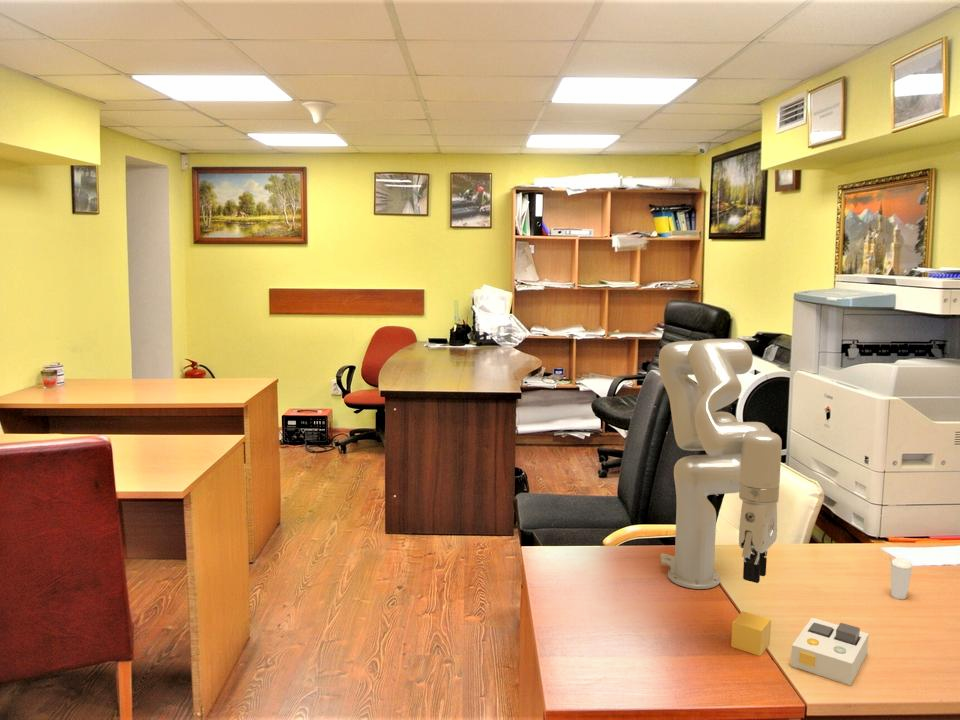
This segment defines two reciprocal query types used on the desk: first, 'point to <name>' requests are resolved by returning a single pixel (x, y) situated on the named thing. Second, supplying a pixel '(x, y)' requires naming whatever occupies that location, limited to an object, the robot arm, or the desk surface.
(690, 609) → the desk surface
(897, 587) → the milkshake
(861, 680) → the desk surface
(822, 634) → the button
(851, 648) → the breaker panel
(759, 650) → the cap
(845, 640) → the block
